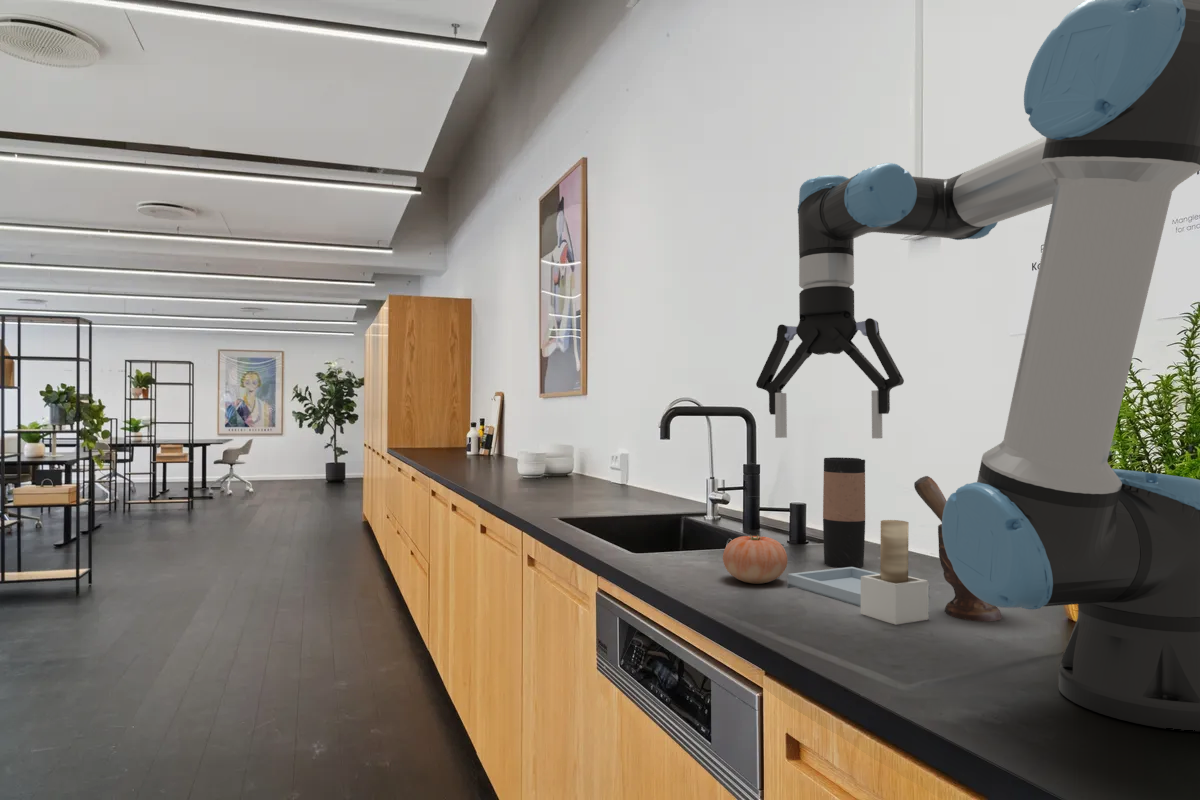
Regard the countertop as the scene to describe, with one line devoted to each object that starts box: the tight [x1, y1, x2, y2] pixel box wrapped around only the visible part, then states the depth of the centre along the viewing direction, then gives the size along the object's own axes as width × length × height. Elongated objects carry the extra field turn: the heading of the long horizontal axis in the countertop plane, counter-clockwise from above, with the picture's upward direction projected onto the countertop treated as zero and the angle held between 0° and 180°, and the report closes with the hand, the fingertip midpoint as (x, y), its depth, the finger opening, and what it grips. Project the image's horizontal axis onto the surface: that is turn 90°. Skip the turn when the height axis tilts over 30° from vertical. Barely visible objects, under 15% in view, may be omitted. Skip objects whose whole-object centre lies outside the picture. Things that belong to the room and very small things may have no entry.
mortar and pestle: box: [913, 475, 1003, 622], centre depth 111 cm, size 12×9×20 cm
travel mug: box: [822, 456, 866, 569], centre depth 151 cm, size 8×8×20 cm
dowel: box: [879, 519, 909, 584], centre depth 110 cm, size 4×4×13 cm
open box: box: [860, 574, 930, 626], centre depth 110 cm, size 6×6×6 cm
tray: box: [786, 567, 880, 608], centre depth 125 cm, size 16×14×2 cm
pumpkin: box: [722, 533, 789, 585], centre depth 135 cm, size 11×11×8 cm
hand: (827, 438), depth 113 cm, fingers open, 13 cm apart
